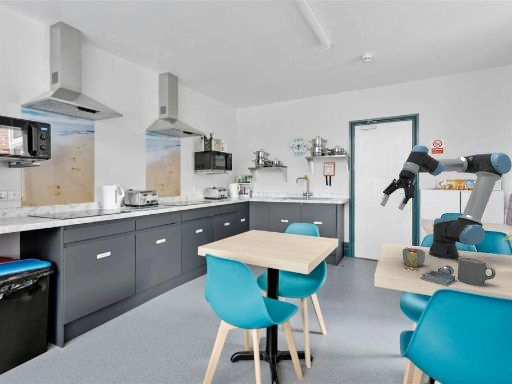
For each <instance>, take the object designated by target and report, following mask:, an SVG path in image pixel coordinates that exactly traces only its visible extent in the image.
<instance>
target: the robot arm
mask: <svg viewBox="0 0 512 384" xmlns="http://www.w3.org/2000/svg"><path fill="white" fill-rule="evenodd" d="M511 170H512V160H511V158H510V156H509V155H508V154H506V153H504V152H493V153H492V152H491V153H479V154H478V153H477V154H472V155H467V156H459V157H456V158H439V159H436V158H434V157H432V156H431V155H430V154H429V147H428V146H425V145H423V144H415V145H414V146H413V147H412V149H411V150H410V153H409V154H408V156H407V159H406V161H404V163H403V166H402V169H401V171H400V172H399V174H398V179H396V178H393V179H392V181H391V183H390V184H389V185H388V186H387V187H385V189H384V190H383V191H382V193H383V194H384V195H383V197H382V200H381V202H380V203H379V205H380V206H382V207H384V208H385V207H386V204H387V203H388V201H389V199H390V197H391V196H390V195H392V194H393V193H395V192H396V191H397V190H400V189H403V192H404V196H402V198H401V201H400V202H399V204H398V206H397V208H398V210H400V211H404V210H405V207H406V205H407V204H408V202H409V200H410V199H414V198H415V191H416V190H415V189H416V184H417V182H416V181H415V179H416V176H417V174H422V173H423V174H425V173H426V174H427V173H428V174H429V175H431V176H433V177H436V176H439V175H441V174H442V173H443V172H445V173H446V172H456V173H459V174H460V173H461V174H475V176H476V180H475V182H474V185H473V188H472V189H471V192H470V194H469V197H468V200H467V203H466V205H465V207H464V210H463V213H462V215H460V216H458V217H457V218H450V217H449V218H448V217H447V218H446V217H444V218H443V217H441V218H440V217H439V218H435V219H434V220H433V226H432V230H433V231H432V233H433V235H432V243H431V245H430V247H429V250H428V255H430V256H433V257H437V258H440V259H446V260H447V259H450V260H457V259H458V258H459V257H460V253H459V251H458V248H457V243H459V244H462V245H468V246H476V245H479V244H480V243H482V242H483V240H484V238H485V236H486V232H485V231H486V230H485V228H484V227H483V225H484V224H483V222H482V221H481V220H482V219H483V216H484V213H485V211H486V208H487V205H488V203H489V200H490V197H491V196H492V193H493V190H494V187H495V185H496V182H498V181H499V180H501V179H502V176H503V175H505V174H508V173H509V172H510V171H511Z"/></svg>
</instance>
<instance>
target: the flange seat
mask: <svg viewBox="0 0 512 384" xmlns="http://www.w3.org/2000/svg"><path fill="white" fill-rule="evenodd" d="M454 274H455V269H454V268H453V267H452V266H451V265H444V266H441V267H439V268H438V269H437V270H432V269H431V270H428V271H426V272H423V273H422V274H421V277H420V279H419V280H423V281H427V282H430V283H434V284H437V285H440V284H442V285H441V286H444V285H445V286H444V287H449V286H450V285H452V284H454V283H455V282H456V283H457V281H458V279H456V275H454Z"/></svg>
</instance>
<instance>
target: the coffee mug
mask: <svg viewBox="0 0 512 384" xmlns="http://www.w3.org/2000/svg"><path fill="white" fill-rule="evenodd" d="M457 259H458V262H457V277H456V280H457V281H458V282H461V283H463V284H465V285H466V284H467V285H470V286H477V287H478V286H479V287H480V286H485V284H486V283H485V282H486V281H488V280H493V279H495V277H496V275H497V271H496V269H495V267H493V266H490V265H487V261H485V260H484V259H481V258H477V257H470V256H469V257H468V256H459V258H457ZM488 270H491V274H490V275H487V271H488Z"/></svg>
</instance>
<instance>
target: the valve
mask: <svg viewBox="0 0 512 384" xmlns="http://www.w3.org/2000/svg"><path fill="white" fill-rule="evenodd" d="M416 249H417V248H416ZM416 249H408V251H407V264H405V265H404V267H405V269H406V270H408V269H409V271H414V270H416V271H419V266H417V259H418V252H417V250H416Z"/></svg>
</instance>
